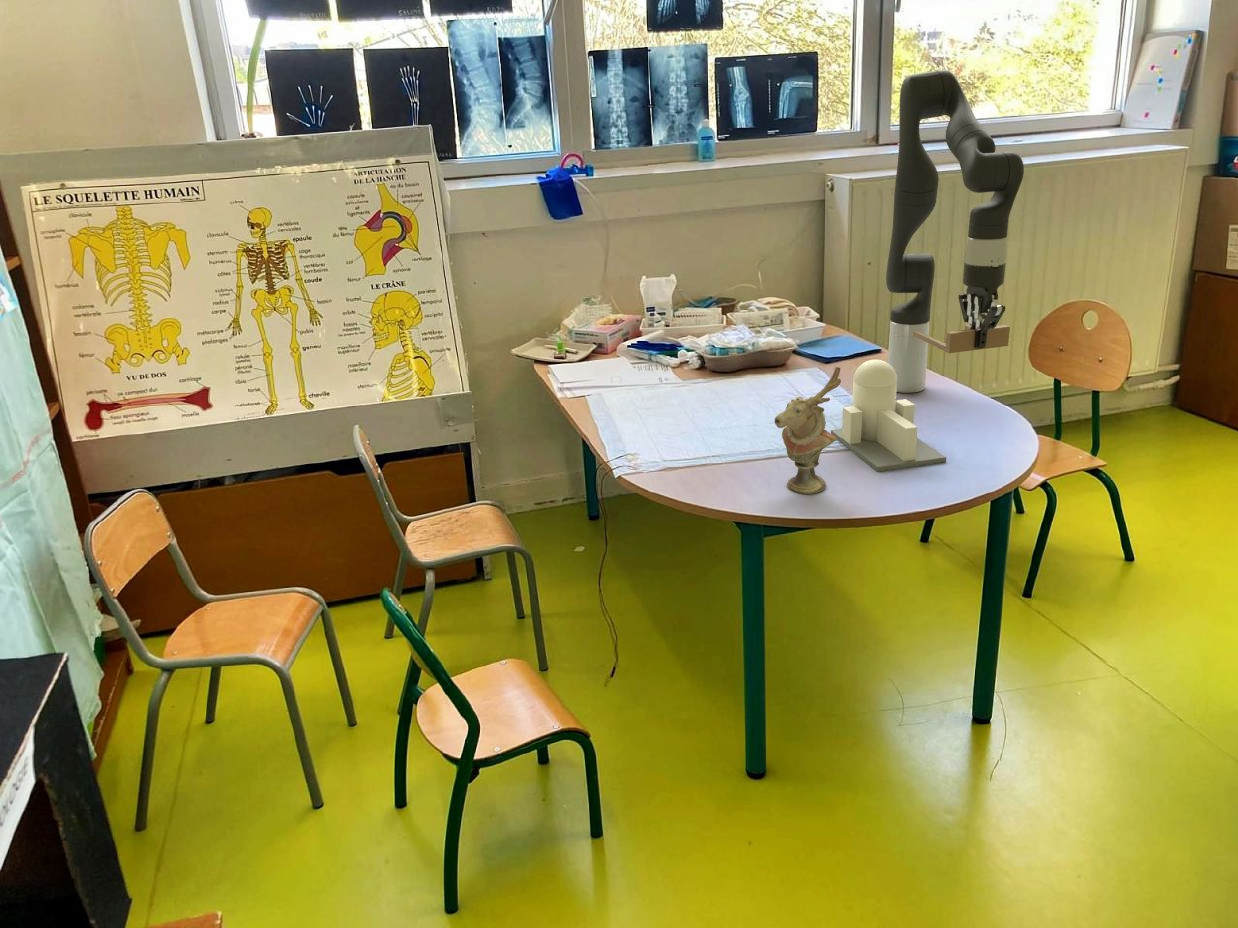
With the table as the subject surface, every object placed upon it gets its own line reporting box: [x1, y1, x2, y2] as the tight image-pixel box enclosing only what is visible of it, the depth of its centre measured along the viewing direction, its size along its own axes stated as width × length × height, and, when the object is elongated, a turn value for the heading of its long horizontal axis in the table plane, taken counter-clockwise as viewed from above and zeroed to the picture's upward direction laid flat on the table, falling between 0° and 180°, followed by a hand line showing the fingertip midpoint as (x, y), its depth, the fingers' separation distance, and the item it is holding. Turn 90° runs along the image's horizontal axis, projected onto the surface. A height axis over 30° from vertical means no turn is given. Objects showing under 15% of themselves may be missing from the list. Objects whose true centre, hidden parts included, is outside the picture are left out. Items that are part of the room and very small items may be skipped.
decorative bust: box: [774, 366, 842, 495], centre depth 175 cm, size 11×13×25 cm
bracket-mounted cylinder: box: [830, 359, 947, 472], centre depth 194 cm, size 22×15×18 cm, turn 12°
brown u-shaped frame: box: [913, 324, 1011, 354], centre depth 192 cm, size 14×13×4 cm
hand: (977, 346), depth 187 cm, fingers closed on brown u-shaped frame, 1 cm apart
